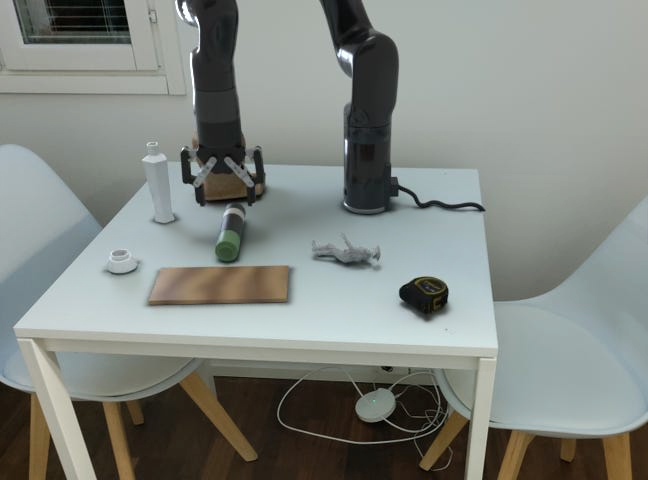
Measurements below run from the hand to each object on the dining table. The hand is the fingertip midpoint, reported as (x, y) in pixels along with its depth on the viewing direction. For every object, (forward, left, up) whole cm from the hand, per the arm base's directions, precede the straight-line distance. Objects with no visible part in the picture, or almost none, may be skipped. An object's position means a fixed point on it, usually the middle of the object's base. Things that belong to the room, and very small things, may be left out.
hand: (226, 204), depth 127 cm
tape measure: (-33, +25, -7) cm, 42 cm away
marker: (0, 0, -7) cm, 7 cm away
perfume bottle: (+14, -10, -7) cm, 18 cm away
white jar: (+18, +10, -7) cm, 22 cm away
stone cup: (+2, -21, -7) cm, 22 cm away
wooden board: (0, +17, -7) cm, 18 cm away
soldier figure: (-21, +9, -7) cm, 24 cm away
